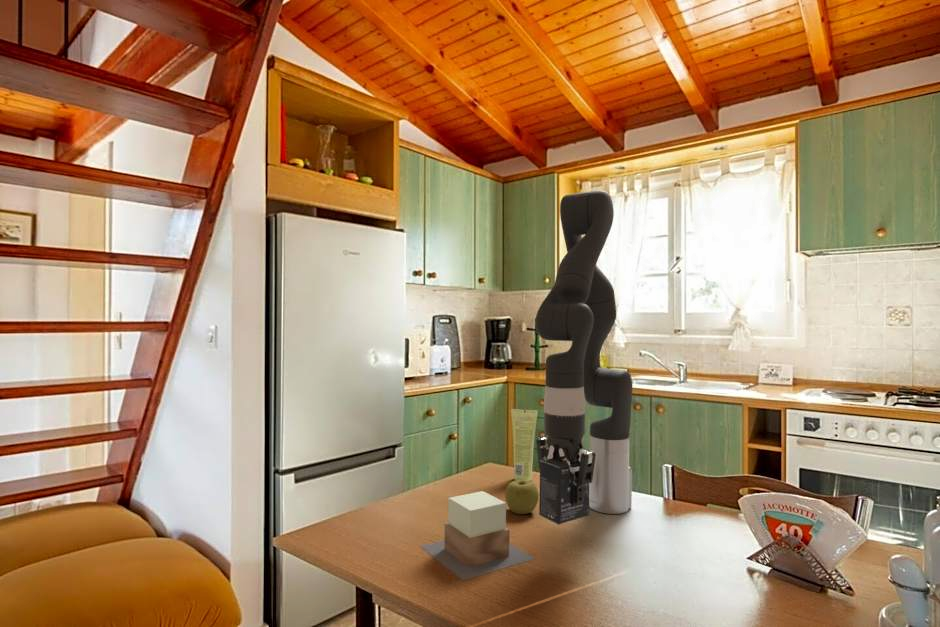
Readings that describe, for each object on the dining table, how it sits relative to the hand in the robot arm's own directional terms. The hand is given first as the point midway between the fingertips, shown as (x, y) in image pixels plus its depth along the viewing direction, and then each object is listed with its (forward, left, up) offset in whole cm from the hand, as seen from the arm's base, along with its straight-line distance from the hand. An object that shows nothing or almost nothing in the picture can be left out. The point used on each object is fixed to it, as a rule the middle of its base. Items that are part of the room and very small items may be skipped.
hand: (564, 499), depth 103 cm
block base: (+12, -11, -11) cm, 20 cm away
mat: (+12, -11, -12) cm, 20 cm away
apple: (-9, -24, -12) cm, 28 cm away
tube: (-25, -44, -12) cm, 52 cm away
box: (0, 0, -3) cm, 3 cm away
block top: (+12, -11, -6) cm, 18 cm away
